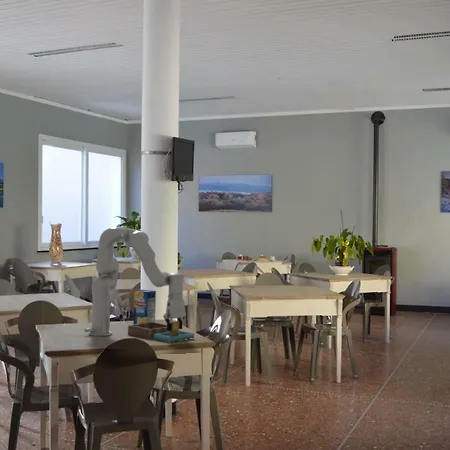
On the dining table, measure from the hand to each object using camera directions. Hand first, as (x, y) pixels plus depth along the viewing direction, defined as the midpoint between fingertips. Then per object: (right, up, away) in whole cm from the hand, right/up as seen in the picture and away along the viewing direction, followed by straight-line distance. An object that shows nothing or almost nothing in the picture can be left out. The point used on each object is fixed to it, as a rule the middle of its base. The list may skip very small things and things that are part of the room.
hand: (174, 329), depth 340 cm
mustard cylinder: (0, -4, 0) cm, 4 cm away
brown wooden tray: (-14, -5, +12) cm, 19 cm away
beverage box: (-21, -5, +33) cm, 39 cm away
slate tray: (0, -5, 0) cm, 5 cm away
